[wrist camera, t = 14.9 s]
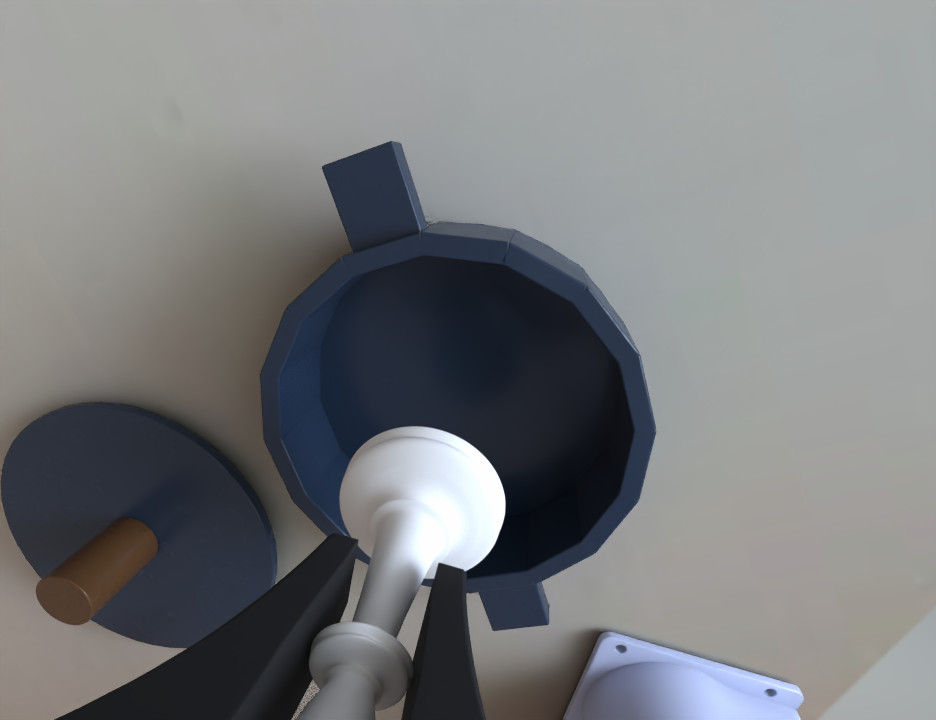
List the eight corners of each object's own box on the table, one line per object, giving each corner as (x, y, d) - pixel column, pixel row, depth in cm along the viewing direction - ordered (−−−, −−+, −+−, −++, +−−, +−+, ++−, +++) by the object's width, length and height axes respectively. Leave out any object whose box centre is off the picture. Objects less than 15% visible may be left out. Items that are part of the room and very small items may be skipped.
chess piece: (531, 542, 15) (506, 1107, 6) (390, 580, 17) (193, 1093, 7) (462, 402, 14) (300, 846, 5) (316, 455, 15) (-34, 885, 6)
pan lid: (204, 365, 23) (113, 416, 18) (326, 615, 27) (279, 711, 22) (-32, 430, 26) (-161, 488, 21) (110, 644, 30) (28, 732, 25)
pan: (572, 91, 17) (579, 68, 13) (673, 549, 22) (698, 624, 19) (231, 212, 20) (158, 221, 16) (393, 588, 25) (366, 659, 22)
